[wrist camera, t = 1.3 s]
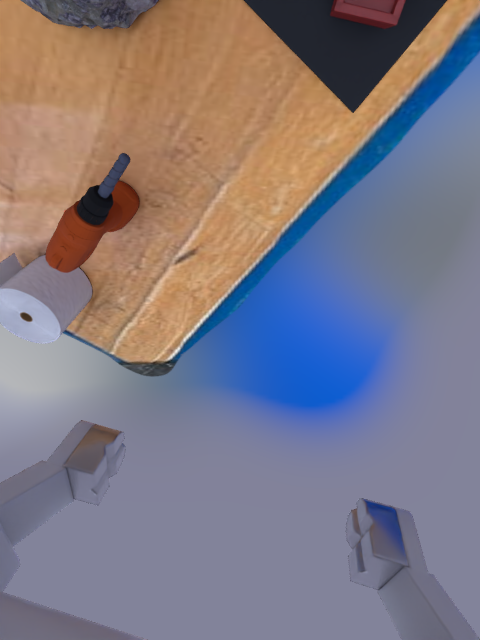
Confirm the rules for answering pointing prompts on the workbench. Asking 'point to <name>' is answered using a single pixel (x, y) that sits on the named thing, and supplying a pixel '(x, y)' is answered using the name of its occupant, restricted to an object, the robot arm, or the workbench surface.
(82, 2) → the mineral rock
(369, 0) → the toy pickup truck
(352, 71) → the mat
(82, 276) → the toilet tissue
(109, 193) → the toy drill
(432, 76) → the workbench surface
